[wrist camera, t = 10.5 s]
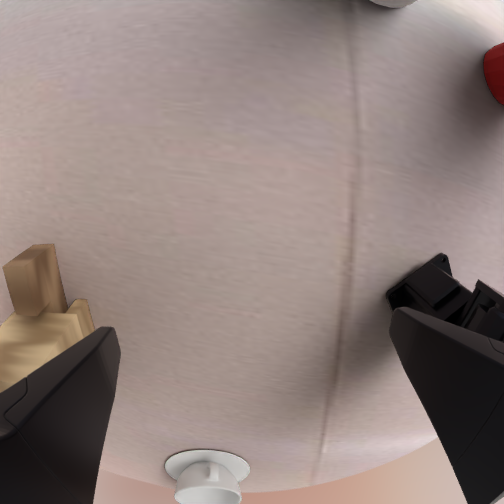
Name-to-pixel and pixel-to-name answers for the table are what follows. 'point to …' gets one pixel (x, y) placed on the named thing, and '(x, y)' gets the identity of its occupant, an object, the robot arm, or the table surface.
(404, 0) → the can
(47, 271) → the lower notched wooden block
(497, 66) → the plastic cup
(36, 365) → the tall wooden block
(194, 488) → the teacup
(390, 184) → the table surface
